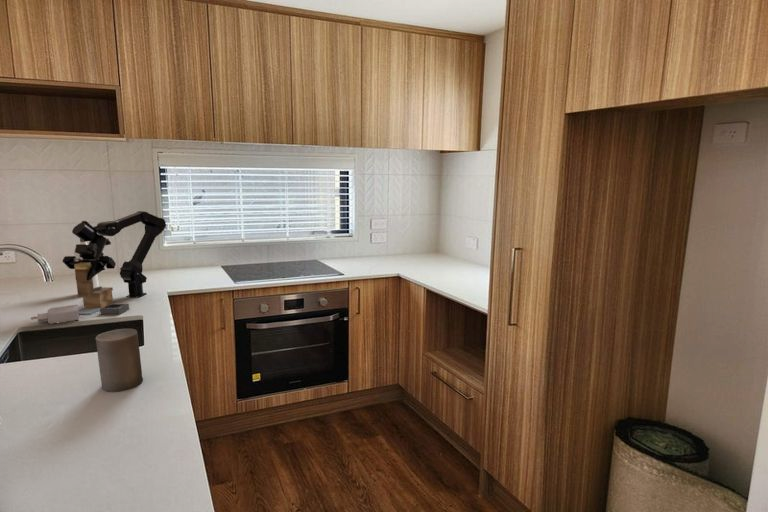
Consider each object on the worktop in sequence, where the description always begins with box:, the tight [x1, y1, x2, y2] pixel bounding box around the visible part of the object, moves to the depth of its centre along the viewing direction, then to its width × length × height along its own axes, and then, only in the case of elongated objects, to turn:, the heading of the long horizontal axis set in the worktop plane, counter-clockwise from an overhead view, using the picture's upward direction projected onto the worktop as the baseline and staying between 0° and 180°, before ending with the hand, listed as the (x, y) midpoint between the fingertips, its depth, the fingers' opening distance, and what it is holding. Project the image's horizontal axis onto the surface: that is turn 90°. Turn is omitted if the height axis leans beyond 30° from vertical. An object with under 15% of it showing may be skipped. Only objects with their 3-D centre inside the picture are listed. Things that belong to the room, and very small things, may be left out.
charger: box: [30, 304, 80, 324], centre depth 186 cm, size 5×9×15 cm
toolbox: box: [82, 285, 114, 308], centre depth 207 cm, size 10×8×8 cm
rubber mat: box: [78, 307, 100, 315], centre depth 198 cm, size 8×8×1 cm
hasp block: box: [99, 303, 130, 316], centre depth 197 cm, size 7×7×2 cm
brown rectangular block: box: [74, 262, 94, 298], centre depth 196 cm, size 4×4×13 cm
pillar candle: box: [95, 328, 144, 393], centre depth 128 cm, size 10×10×15 cm
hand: (82, 279), depth 194 cm, fingers closed on brown rectangular block, 4 cm apart
